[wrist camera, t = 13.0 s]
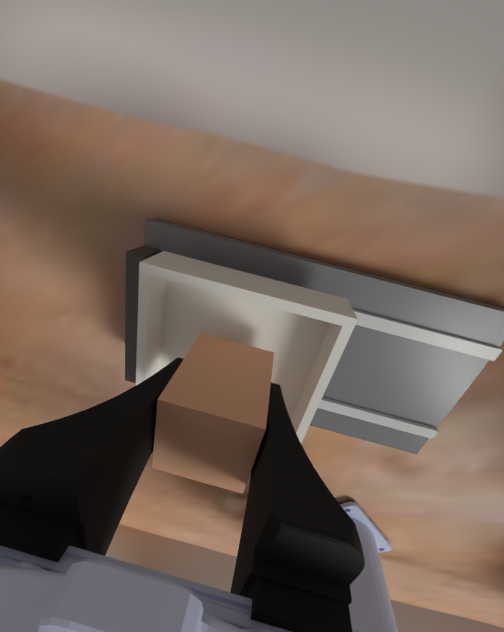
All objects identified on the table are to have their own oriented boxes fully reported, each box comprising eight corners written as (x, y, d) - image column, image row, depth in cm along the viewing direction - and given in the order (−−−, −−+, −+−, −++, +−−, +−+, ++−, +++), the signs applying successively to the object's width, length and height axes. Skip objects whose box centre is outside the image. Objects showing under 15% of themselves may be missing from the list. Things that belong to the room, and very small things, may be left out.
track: (509, 309, 16) (555, 333, 13) (411, 443, 21) (429, 480, 18) (154, 218, 16) (126, 223, 13) (145, 370, 21) (125, 396, 19)
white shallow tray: (343, 290, 15) (358, 319, 11) (292, 415, 19) (292, 462, 16) (172, 246, 15) (139, 262, 12) (161, 380, 19) (134, 418, 16)
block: (274, 352, 14) (265, 429, 9) (256, 407, 16) (242, 493, 11) (200, 332, 14) (157, 399, 9) (192, 389, 16) (152, 468, 11)
